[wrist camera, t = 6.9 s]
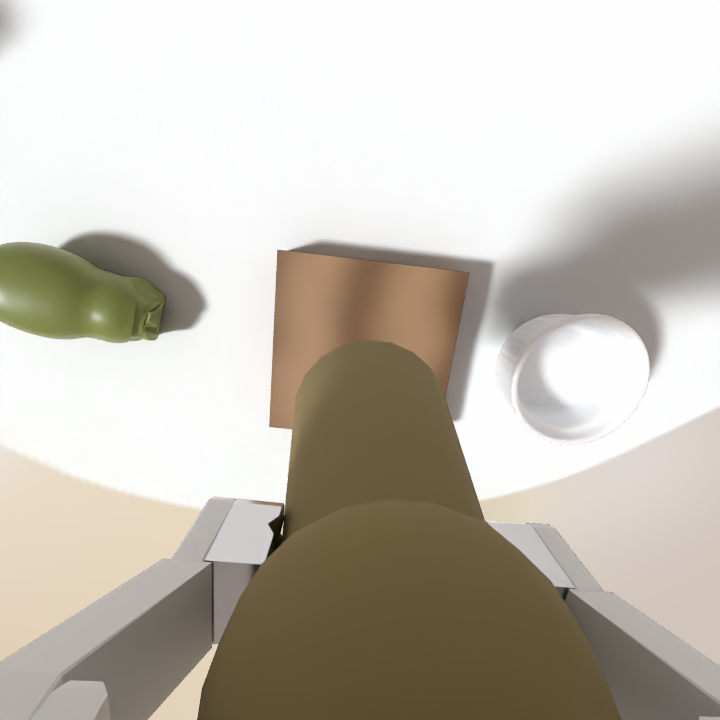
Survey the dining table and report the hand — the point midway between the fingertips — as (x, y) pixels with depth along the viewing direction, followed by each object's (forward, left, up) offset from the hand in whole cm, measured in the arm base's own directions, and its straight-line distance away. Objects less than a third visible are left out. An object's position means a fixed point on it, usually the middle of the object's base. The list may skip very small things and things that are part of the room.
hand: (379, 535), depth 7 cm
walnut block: (0, 0, -18) cm, 18 cm away
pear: (+18, -2, -19) cm, 26 cm away
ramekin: (-14, 0, -19) cm, 23 cm away
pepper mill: (0, 0, -6) cm, 7 cm away
